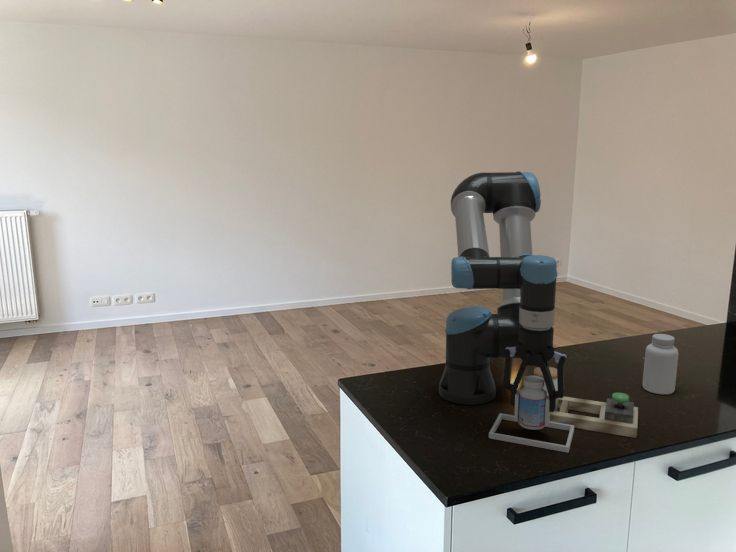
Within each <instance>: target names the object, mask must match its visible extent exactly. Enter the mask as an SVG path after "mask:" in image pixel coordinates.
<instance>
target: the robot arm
mask: <svg viewBox="0 0 736 552" xmlns="http://www.w3.org/2000/svg"><path fill="white" fill-rule="evenodd" d="M541 196H542V195H541V189H540V184H539V181H538V178H537V177H536V175H535V174H534V173H532V172H528V171H527V172H526V171H516V172H515V171H514V172H512V171H508V172H507V171H506V172H503V171H502V172H485V171H484V172H477V173H474V174H472V175H470V176H468V177H466V178H465V179H463V180H462V181H461V182H460V183H459V184H458V185H457V186H456V187H455V189H454V191H453V193H452V194H451V199H450V211H451V213H452V215H453V216H454V217H455V220H454V221H455V229H456V230H455V231H456V245H457V257H453V258H451V263H450V264H451V265H450V266H451V267H450V270H451V272H450V274H451V275H450V276H451V279H450V280H451V286H452V287H453V288H455V289H466V290H485V289H486V290H493V289H494V290H496V289H498V290H501V291H502V293H501V294H502V303H500V304H499V305H498V307H497V310H496V311H497V313H492V311H491V309H490V308H488V307H485V306H467V307H461V308H458V309H455V310H454V311H451V312H450V313H449V314H448V315H447V317H446V321H445V330H444V331H445V338H446V339H445V367H444V370H443V373H442V375H441V378H440V381H439V383H438V394H439V396H440V397H441V398H442V399H444V400H446V401H448V402H450V403H453V404H458V405H467V406H473V405H475V406H476V405H483V404H486V403H489V402H491V401H492V400H494V399H495V398H496V396H497V395H496V392H497V390H496V384H495V379H494V378H493V374H492V373H493V372H492V371H491V367H490V365H491V364H490V361H491V360H490V359H505V363H504V369H503V370H504V371H503V381H502V389H503V390H505V391H509V393H510V404H509V405H511V406H513V407H514V421H518V418H519V393H520V389H518V388H519V386H520V383H521V381H522V380H523V377H524V376H523V375H524V373H525V371H526V368H527V366H528V367H529V366H530V367H533V366H534V367H535V368H536V367H540V369H541V372H542V374H543V377H544V381H545V384H546V388H547V391H548V394H549V395H547V398H546V406H545V426H548V425H549V422H550V412H554V410H555V405H556V399H557V398H563V396H564V397H565V392H566V391H565V390H566V389H565V386H566V383H565V382H566V381H565V363H566V360H567V356H568V355H567V353H566V352H562V353H561V352H558V351H556V349H555V348H554V333H555V331H554V330H555V329H554V327H553V326H554V325H555V312H556V308H555V306H556V292H557V291H556V290H557V279H558V270H557V267H558V266H557V265H558V263H557V260H556V259H555V258H554V257H551V256H548V255H542V254H536V255H535V254H533V243H532V241H533V240H532V229H531V227H532V226H531V222H532V221H533V220H534V219H535V217H536V213H538V212H539V211H540V210H541V206H542V205H541V202H542V200H541ZM484 214H492V217H493V219H492V220H493V221H494V222H495V223H496V224H498V229H499V231H498V232H499V250H500V256H490V252H489V251H490V250H489V244H488V238H487V231H486V225H485V224H486V223H485V217H484ZM552 358H554V361H555V363H557V367H556V369H557V383H558V391H556V390H555V387H554V383H553V380H552V376H551V373H550V369H549V367H550V364H549V361H550V360H551V359H552ZM514 359H521V363H520V365H519V368H518V371H517V373H516V375H515V378H514V380H513V383H511V378H512V370H513V361H514ZM514 421H513V422H514Z"/></svg>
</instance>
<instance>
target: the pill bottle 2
mask: <svg viewBox="0 0 736 552" xmlns="http://www.w3.org/2000/svg"><path fill="white" fill-rule="evenodd" d="M651 337H652V338H651V343H650V344H648V345H647V346H646V347H645V354H644V364H643V375H642V387H643V389H644V390H646V391H647V392H649V393H652V394H657V395H671V394H673V393H674V392H675V390H676V383H677V382H676V381H677V372H678V362H679V350H678V348H677V347H676V346H675V339H676V338H675V337H674V336H673V335H670V334H666V333H654V334H653V335H652V336H651Z"/></svg>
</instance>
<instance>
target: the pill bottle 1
mask: <svg viewBox="0 0 736 552" xmlns="http://www.w3.org/2000/svg"><path fill="white" fill-rule="evenodd" d="M522 385H523V386H521V387H520V389H519V390H520V393H519V418H518V422H517V423H518V425H520V426H521V427H522V428H523V429H527V430H533V431H535V430H536V431H537V430H542V429H543V428H545V406H546V398H547V392H546V390H545V389H544V388H543V387H544V379H543V378H541V377H539V376H534V375H526V376H523V377H522Z"/></svg>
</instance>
